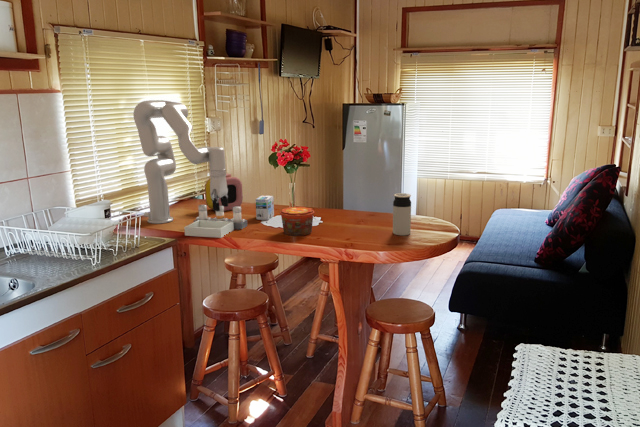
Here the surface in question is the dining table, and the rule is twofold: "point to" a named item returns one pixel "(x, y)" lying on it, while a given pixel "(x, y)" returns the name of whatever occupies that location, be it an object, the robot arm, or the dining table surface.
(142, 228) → the dining table surface
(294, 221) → the food container
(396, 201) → the travel mug
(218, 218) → the marked fuse
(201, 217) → the left fuse
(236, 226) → the fuse block
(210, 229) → the tray
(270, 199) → the light bulb box
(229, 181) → the alarm clock
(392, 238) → the dining table surface
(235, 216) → the right fuse
